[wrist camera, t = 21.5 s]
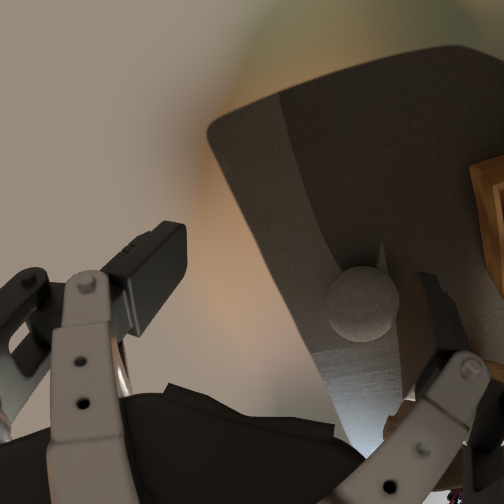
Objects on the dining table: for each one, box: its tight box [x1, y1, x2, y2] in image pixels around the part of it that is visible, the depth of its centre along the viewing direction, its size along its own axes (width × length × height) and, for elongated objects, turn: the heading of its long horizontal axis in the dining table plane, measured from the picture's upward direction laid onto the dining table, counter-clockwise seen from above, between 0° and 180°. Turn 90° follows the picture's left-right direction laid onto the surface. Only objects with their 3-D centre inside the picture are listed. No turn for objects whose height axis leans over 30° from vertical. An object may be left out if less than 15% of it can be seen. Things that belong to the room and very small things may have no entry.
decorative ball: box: [325, 266, 399, 342], centre depth 41 cm, size 10×10×10 cm
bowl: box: [383, 360, 504, 492], centre depth 41 cm, size 27×29×20 cm
